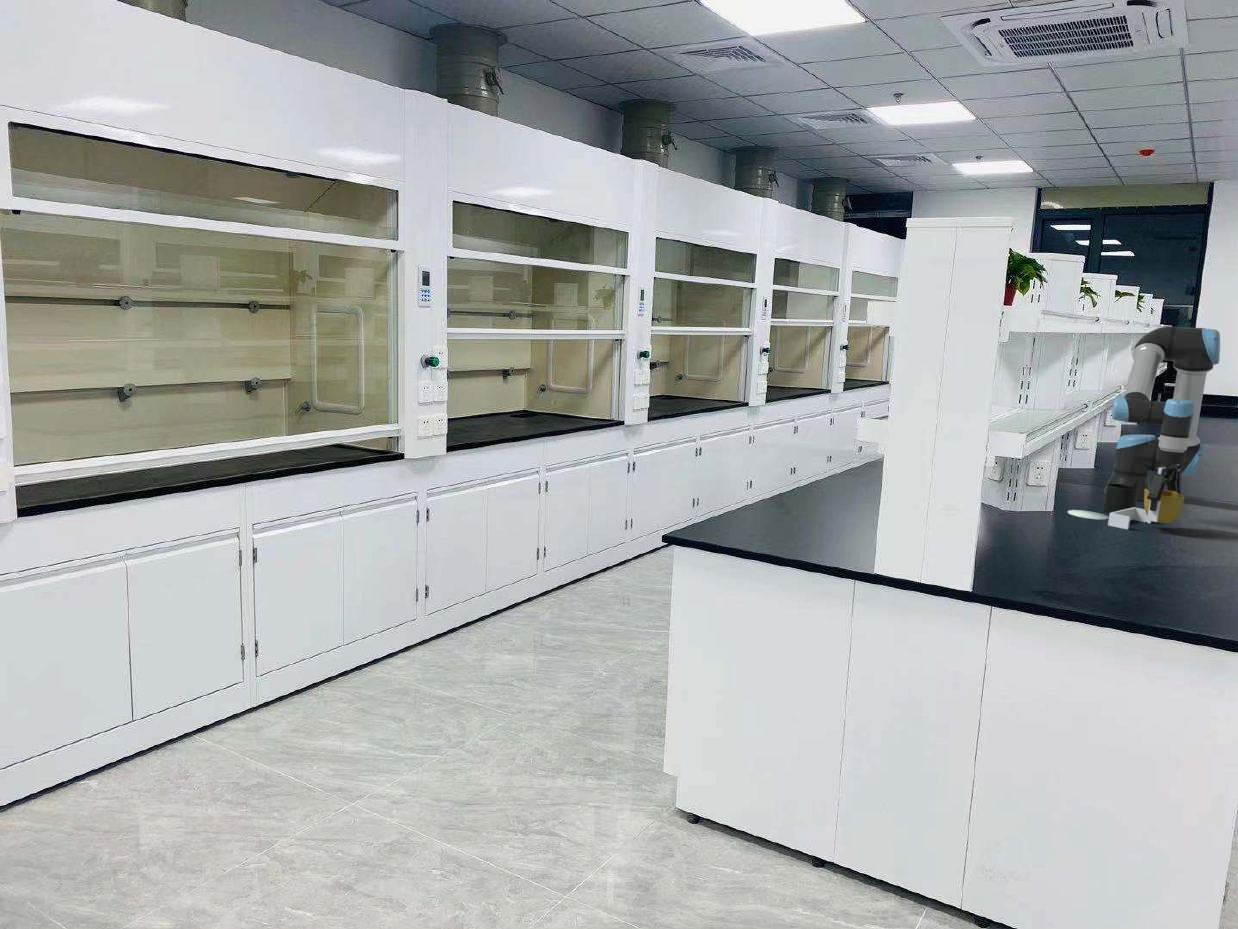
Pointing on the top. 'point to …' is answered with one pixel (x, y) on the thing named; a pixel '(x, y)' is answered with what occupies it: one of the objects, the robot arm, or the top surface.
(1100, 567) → the top surface
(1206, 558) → the top surface
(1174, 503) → the flower pot
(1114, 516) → the bracket
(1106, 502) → the mug
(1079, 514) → the pad
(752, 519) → the top surface
